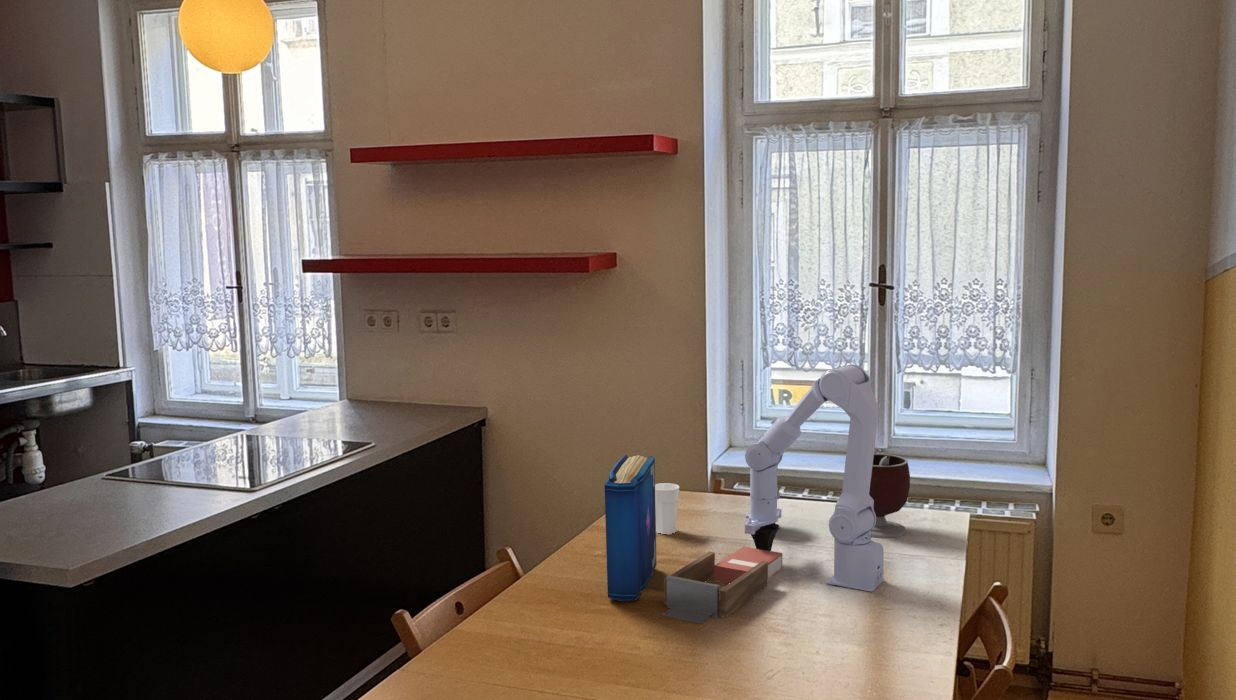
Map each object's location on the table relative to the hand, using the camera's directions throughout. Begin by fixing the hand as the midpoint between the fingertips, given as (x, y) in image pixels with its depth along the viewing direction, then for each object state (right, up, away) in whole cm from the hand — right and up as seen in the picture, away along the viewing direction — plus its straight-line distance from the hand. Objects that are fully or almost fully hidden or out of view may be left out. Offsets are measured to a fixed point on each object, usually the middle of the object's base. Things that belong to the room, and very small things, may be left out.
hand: (763, 557), depth 215 cm
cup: (-20, +1, +23) cm, 31 cm away
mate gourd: (+30, +2, +21) cm, 37 cm away
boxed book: (-4, -2, -7) cm, 8 cm away
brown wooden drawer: (-12, -4, -18) cm, 22 cm away
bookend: (-18, -5, -28) cm, 34 cm away
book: (-29, -3, -12) cm, 31 cm away
